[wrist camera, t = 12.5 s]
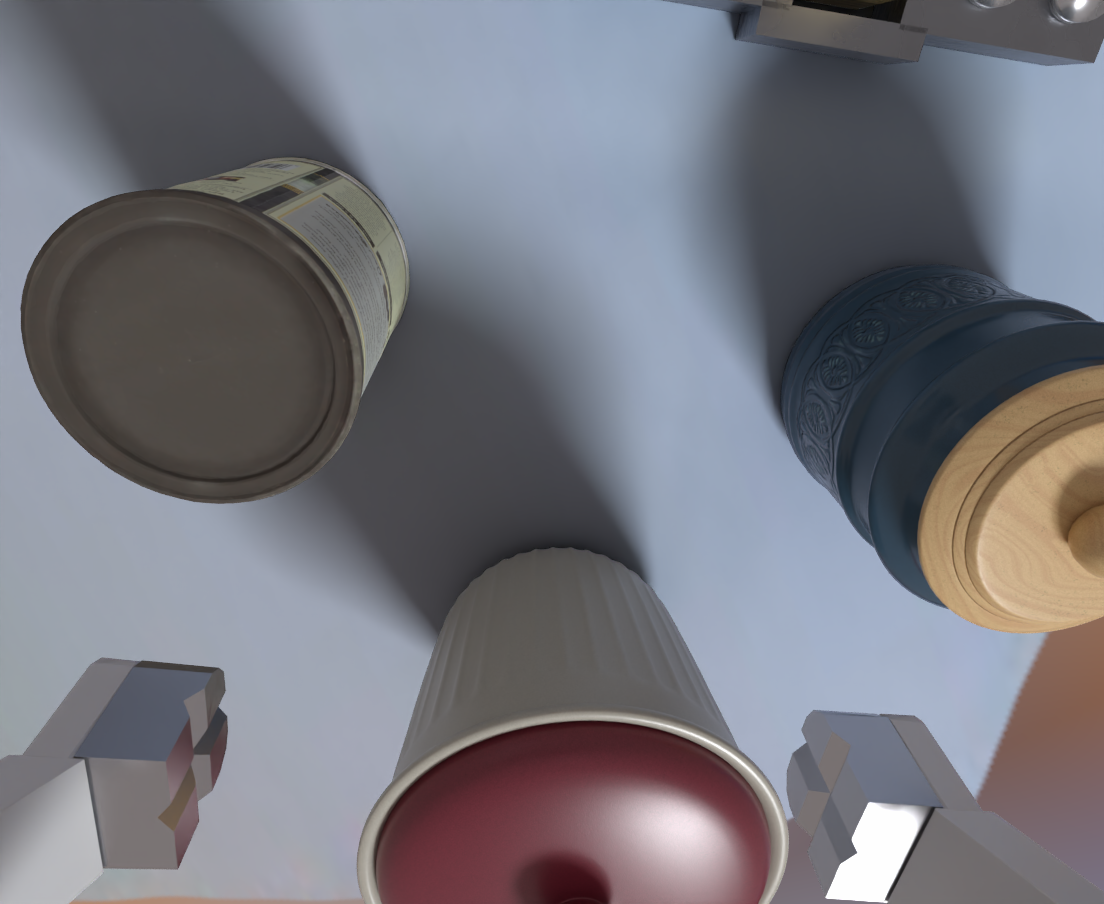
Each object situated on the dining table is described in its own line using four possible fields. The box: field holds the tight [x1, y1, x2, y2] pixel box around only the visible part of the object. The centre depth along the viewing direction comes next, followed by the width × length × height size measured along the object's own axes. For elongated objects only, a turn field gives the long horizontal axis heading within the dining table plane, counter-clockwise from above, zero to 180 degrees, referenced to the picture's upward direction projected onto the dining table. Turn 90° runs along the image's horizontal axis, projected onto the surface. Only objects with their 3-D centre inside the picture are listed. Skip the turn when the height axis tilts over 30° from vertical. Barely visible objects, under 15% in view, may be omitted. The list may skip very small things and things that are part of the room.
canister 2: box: [781, 265, 1104, 633], centre depth 32 cm, size 13×13×18 cm
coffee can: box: [21, 157, 410, 504], centre depth 30 cm, size 10×10×14 cm
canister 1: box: [357, 547, 789, 904], centre depth 36 cm, size 18×18×21 cm
